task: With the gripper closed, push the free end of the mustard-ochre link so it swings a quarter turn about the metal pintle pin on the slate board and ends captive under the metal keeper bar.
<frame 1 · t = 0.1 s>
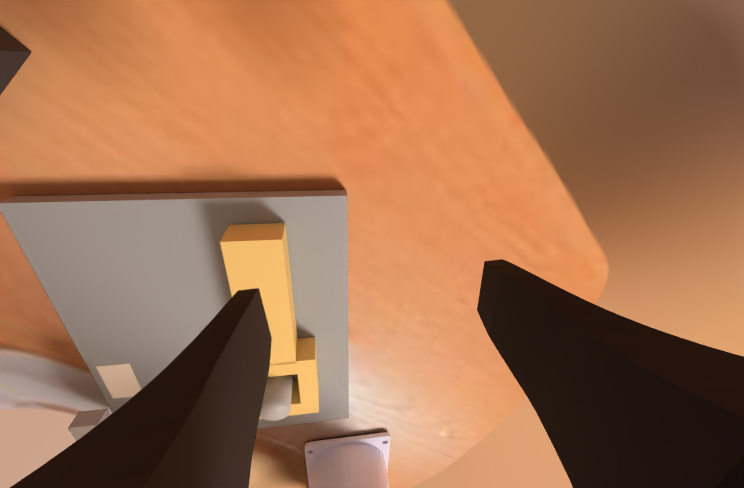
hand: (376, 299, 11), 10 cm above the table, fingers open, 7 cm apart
link: (270, 332, 21), point 2 cm above the table, hinge at 0.0°
pintle board: (280, 355, 25), on the table
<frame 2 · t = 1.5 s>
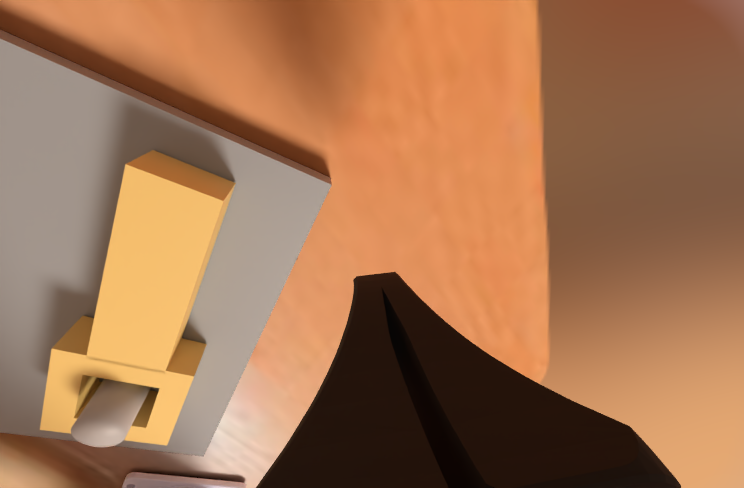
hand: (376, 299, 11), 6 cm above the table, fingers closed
link: (146, 318, 14), point 2 cm above the table, hinge at 0.0°
pintle board: (146, 351, 18), on the table
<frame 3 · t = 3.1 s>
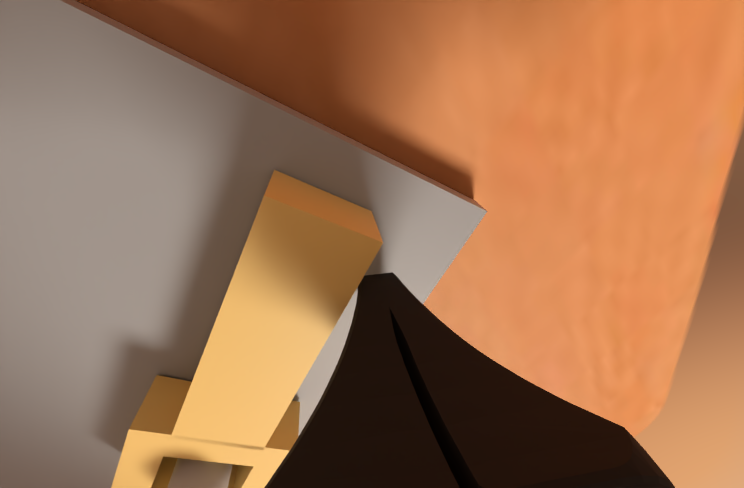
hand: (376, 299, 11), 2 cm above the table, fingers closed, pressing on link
link: (242, 382, 11), point 2 cm above the table, hinge at 0.0°, touching gripper
pintle board: (220, 407, 15), on the table
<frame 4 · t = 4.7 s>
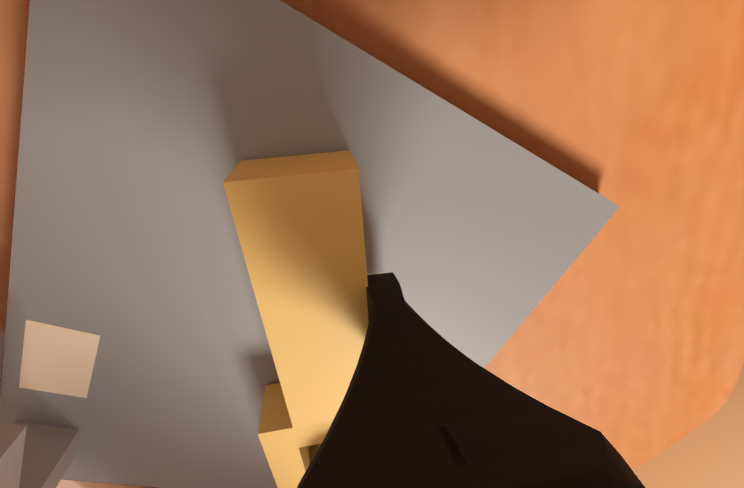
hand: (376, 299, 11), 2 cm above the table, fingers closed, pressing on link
link: (329, 363, 12), point 2 cm above the table, hinge at 30.8°, touching gripper
pintle board: (338, 394, 15), on the table
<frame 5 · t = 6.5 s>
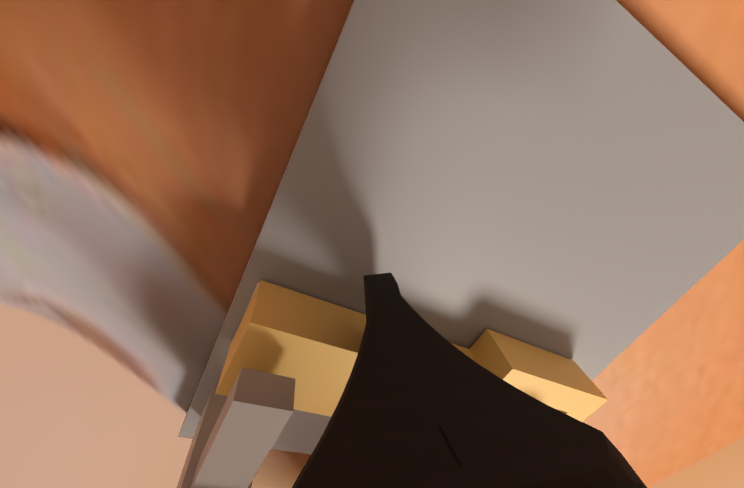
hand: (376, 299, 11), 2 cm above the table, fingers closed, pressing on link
link: (423, 384, 13), point 2 cm above the table, hinge at 88.5°, touching gripper
pintle board: (484, 367, 16), on the table
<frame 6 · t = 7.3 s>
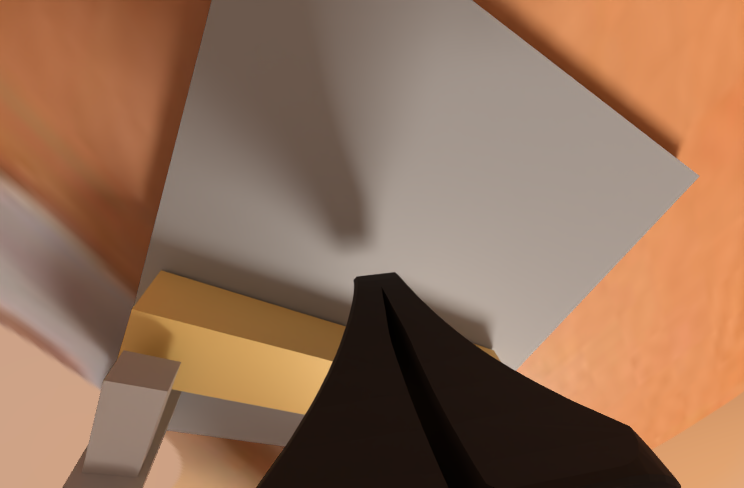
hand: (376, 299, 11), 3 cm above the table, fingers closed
link: (334, 371, 13), point 2 cm above the table, hinge at 88.7°
pintle board: (411, 356, 16), on the table
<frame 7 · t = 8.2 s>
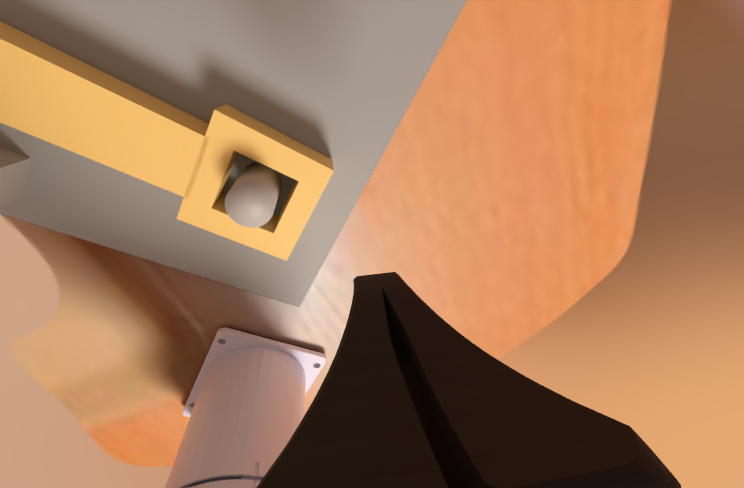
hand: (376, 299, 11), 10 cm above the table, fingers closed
link: (161, 143, 14), point 2 cm above the table, hinge at 88.7°
pintle board: (264, 174, 18), on the table
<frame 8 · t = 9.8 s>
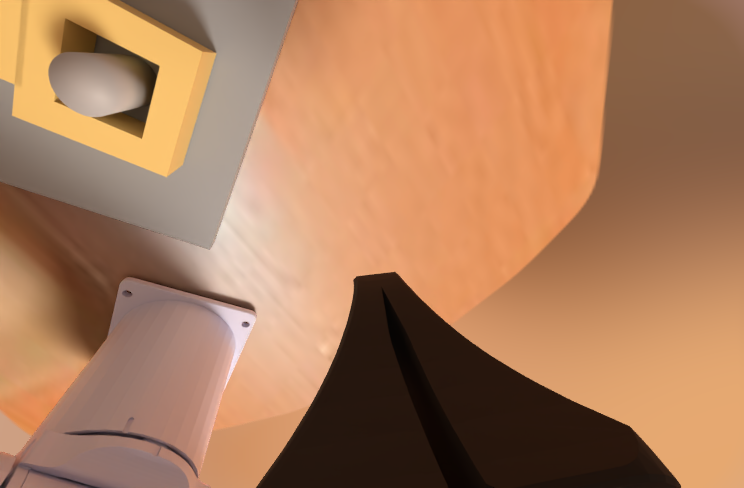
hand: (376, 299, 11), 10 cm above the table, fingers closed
pintle board: (144, 80, 15), on the table
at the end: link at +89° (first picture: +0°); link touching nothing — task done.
